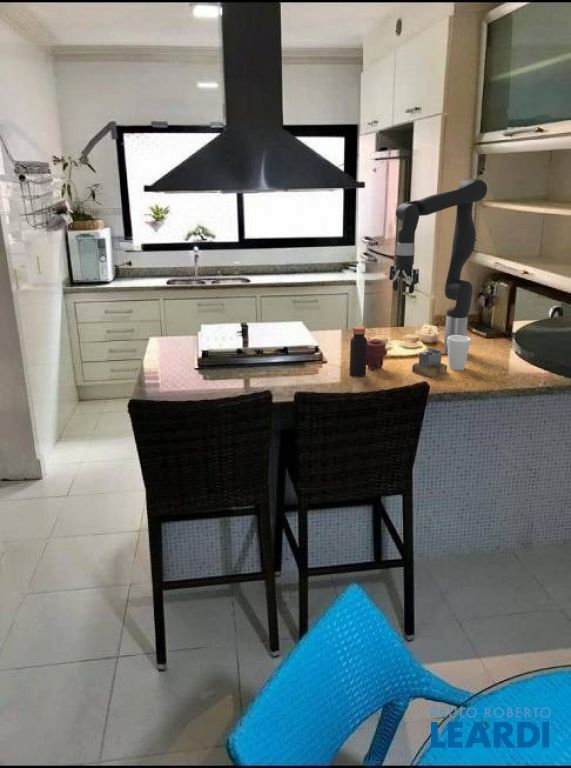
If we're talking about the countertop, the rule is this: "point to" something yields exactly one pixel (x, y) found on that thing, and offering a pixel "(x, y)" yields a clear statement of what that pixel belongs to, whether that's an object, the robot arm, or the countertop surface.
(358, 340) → the bottle
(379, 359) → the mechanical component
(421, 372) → the stand
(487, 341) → the countertop surface
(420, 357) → the housing
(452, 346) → the foam cup
